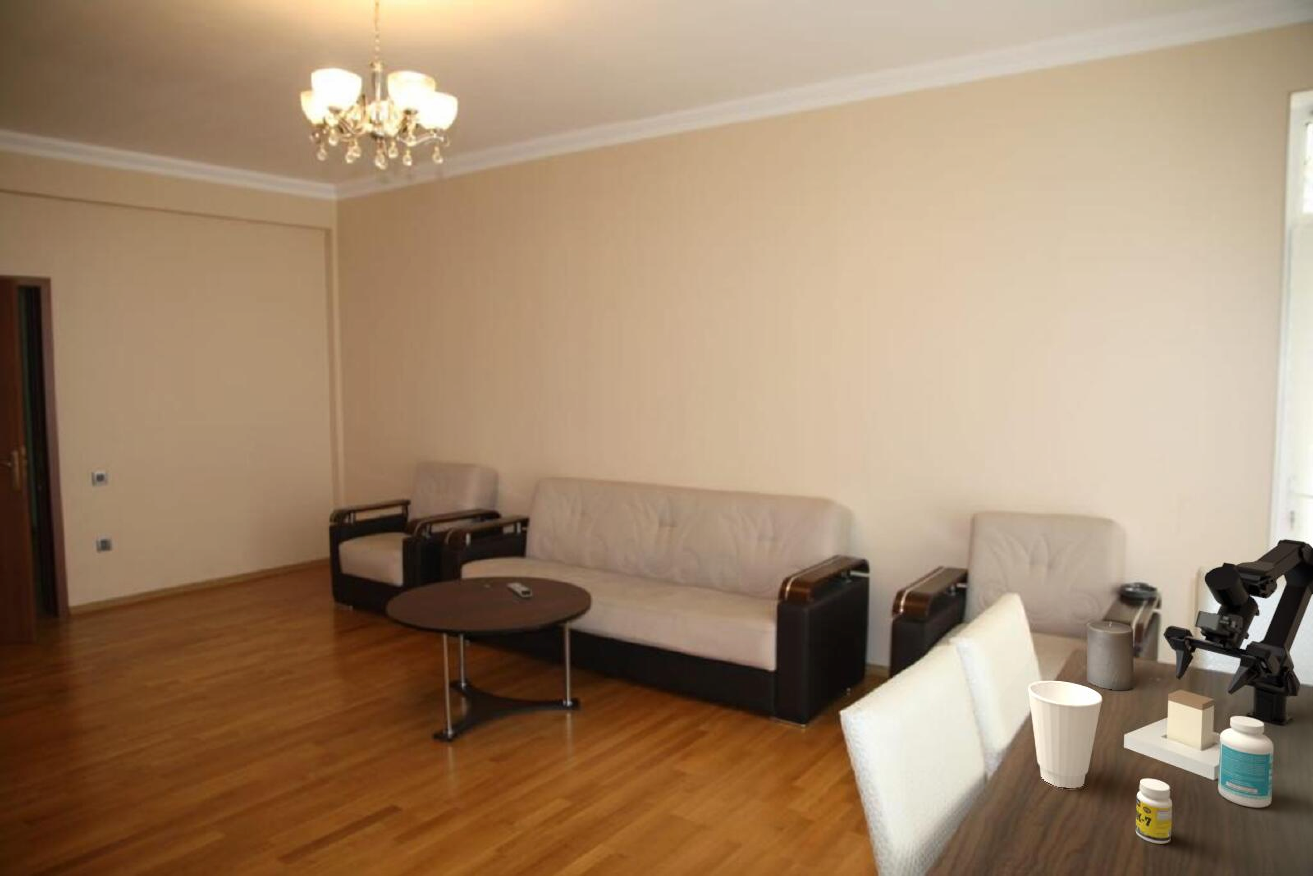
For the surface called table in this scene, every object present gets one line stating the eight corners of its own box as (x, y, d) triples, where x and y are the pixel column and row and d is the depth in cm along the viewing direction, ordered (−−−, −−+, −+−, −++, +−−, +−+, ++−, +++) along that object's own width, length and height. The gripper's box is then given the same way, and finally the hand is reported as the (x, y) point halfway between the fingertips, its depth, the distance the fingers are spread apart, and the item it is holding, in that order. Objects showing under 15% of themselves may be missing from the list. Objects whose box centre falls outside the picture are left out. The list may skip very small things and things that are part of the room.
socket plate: (1167, 729, 170) (1168, 717, 170) (1256, 758, 157) (1257, 746, 157) (1123, 747, 162) (1124, 734, 162) (1213, 780, 148) (1214, 766, 148)
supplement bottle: (1128, 829, 132) (1130, 777, 132) (1156, 827, 133) (1158, 776, 132) (1149, 845, 127) (1150, 792, 127) (1178, 844, 128) (1180, 790, 127)
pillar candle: (1134, 681, 198) (1135, 618, 197) (1131, 694, 190) (1132, 628, 189) (1088, 674, 203) (1088, 613, 202) (1084, 686, 195) (1084, 623, 194)
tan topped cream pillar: (1178, 744, 163) (1180, 689, 162) (1212, 756, 158) (1214, 699, 157) (1166, 750, 161) (1168, 694, 160) (1200, 762, 156) (1202, 704, 155)
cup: (1093, 770, 152) (1096, 684, 151) (1105, 801, 141) (1108, 708, 140) (1023, 761, 156) (1025, 677, 155) (1028, 790, 145) (1031, 700, 144)
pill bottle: (1280, 812, 137) (1283, 732, 136) (1230, 807, 139) (1233, 728, 138) (1257, 790, 145) (1260, 714, 144) (1210, 786, 146) (1212, 711, 145)
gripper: (1169, 586, 170) (1138, 648, 165) (1275, 606, 155) (1244, 676, 150) (1188, 618, 175) (1158, 679, 170) (1292, 641, 159) (1263, 710, 154)
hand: (1203, 685), depth 161 cm, fingers open, 9 cm apart
